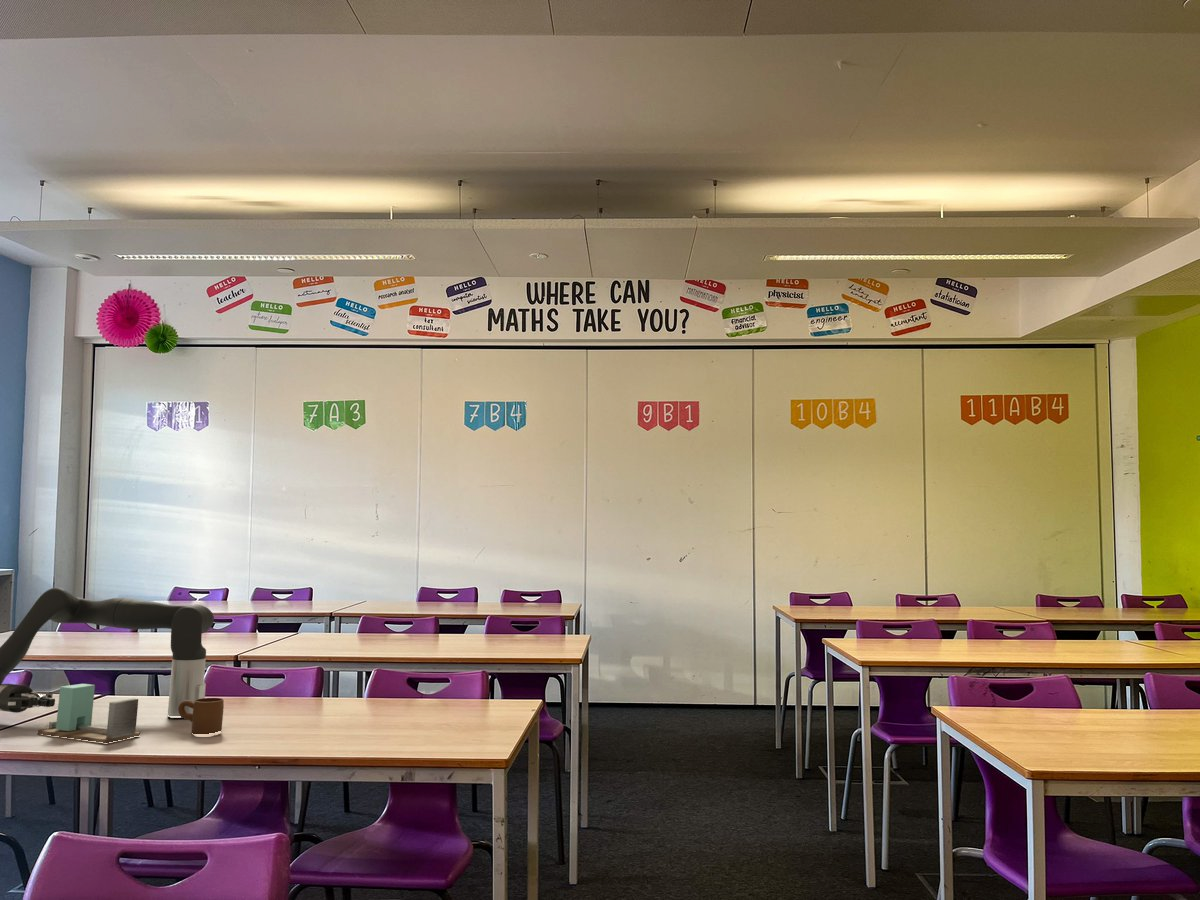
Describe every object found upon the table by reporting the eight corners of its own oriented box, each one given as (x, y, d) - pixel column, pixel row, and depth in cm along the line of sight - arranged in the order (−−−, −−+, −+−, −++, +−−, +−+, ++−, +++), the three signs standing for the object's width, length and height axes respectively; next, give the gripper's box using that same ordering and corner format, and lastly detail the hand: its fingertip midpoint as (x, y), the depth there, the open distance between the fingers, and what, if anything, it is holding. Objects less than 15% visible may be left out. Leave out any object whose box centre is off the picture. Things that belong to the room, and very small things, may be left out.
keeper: (55, 729, 224) (60, 686, 225) (78, 725, 230) (82, 683, 231) (68, 731, 222) (73, 688, 223) (91, 726, 228) (95, 685, 229)
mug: (169, 737, 224) (172, 701, 225) (183, 731, 231) (186, 696, 232) (213, 738, 224) (216, 702, 225) (226, 732, 231) (228, 697, 232)
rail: (43, 729, 225) (46, 695, 226) (67, 724, 231) (71, 691, 233) (111, 738, 215) (115, 703, 217) (135, 733, 222) (138, 699, 223)
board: (37, 734, 223) (37, 730, 224) (72, 727, 233) (72, 723, 233) (106, 744, 214) (106, 739, 214) (139, 737, 223) (140, 732, 223)
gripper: (-13, 687, 230) (29, 692, 224) (34, 681, 243) (76, 685, 236) (-16, 715, 230) (27, 720, 223) (32, 707, 242) (73, 712, 235)
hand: (52, 702), depth 230 cm, fingers closed
